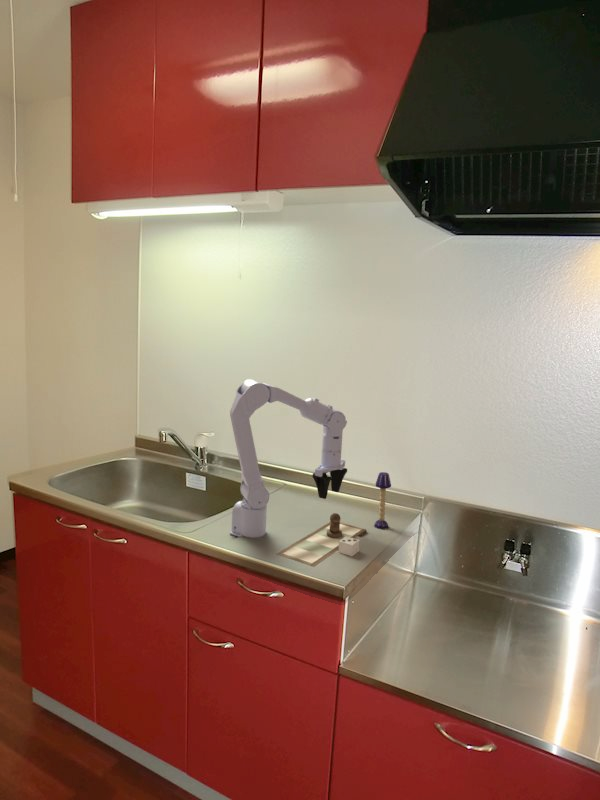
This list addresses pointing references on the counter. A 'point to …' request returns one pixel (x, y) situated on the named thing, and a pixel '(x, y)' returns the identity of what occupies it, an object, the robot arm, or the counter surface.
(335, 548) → the game board
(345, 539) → the die
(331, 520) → the pawn
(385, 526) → the toy lamp
